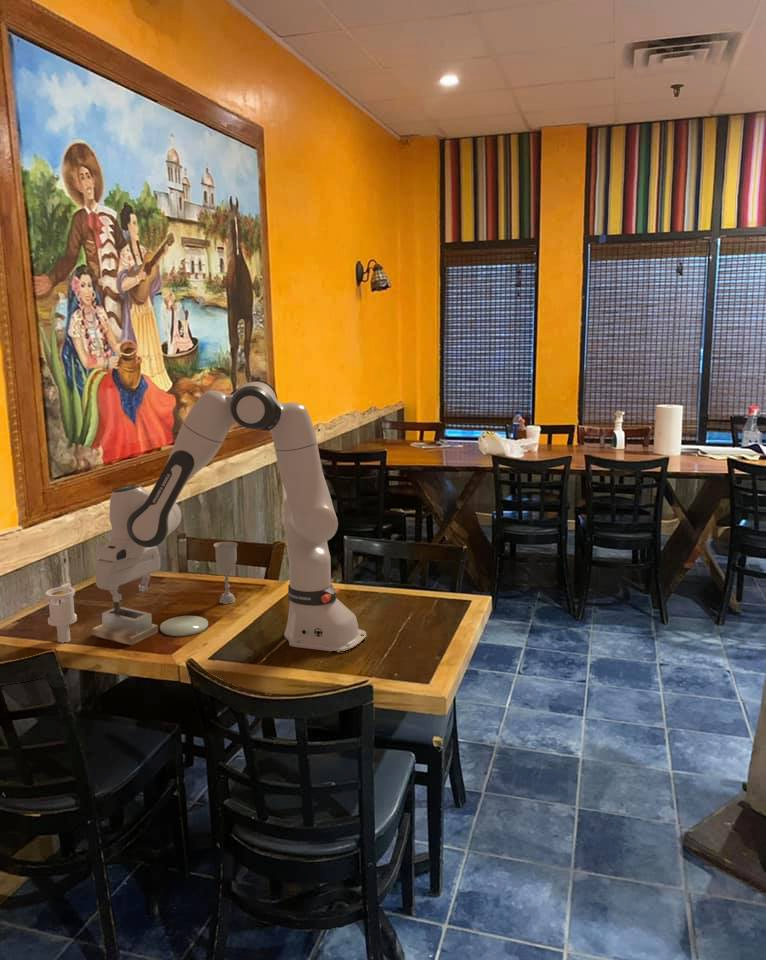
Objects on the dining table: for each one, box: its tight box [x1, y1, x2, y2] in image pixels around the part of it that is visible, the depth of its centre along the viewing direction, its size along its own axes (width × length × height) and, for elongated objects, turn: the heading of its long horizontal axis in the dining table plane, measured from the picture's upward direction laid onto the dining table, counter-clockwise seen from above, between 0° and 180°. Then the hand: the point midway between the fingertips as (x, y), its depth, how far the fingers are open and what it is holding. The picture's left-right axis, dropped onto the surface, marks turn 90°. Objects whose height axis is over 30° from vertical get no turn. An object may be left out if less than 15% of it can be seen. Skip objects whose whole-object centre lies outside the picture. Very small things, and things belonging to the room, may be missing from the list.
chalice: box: [213, 541, 239, 605], centre depth 230 cm, size 7×7×18 cm
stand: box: [91, 592, 159, 646], centre depth 206 cm, size 14×10×11 cm
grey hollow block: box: [101, 606, 153, 635], centre depth 206 cm, size 12×6×4 cm, turn 64°
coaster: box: [159, 615, 209, 637], centre depth 212 cm, size 13×13×1 cm
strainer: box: [45, 582, 78, 644], centre depth 201 cm, size 7×7×15 cm
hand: (130, 595), depth 203 cm, fingers open, 8 cm apart
